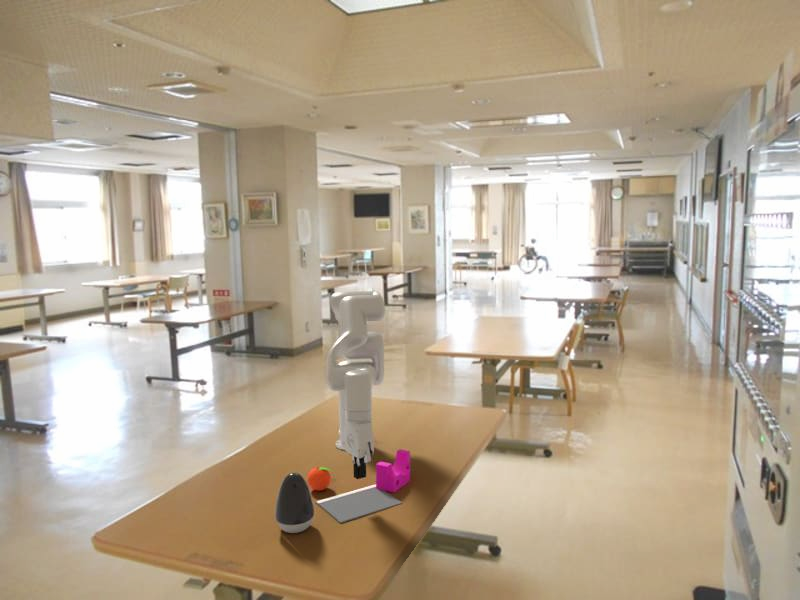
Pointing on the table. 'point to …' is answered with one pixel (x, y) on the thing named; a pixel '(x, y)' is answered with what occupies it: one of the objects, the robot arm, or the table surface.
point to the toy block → (393, 472)
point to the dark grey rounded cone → (294, 504)
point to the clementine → (319, 478)
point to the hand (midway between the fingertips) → (360, 477)
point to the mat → (357, 503)
